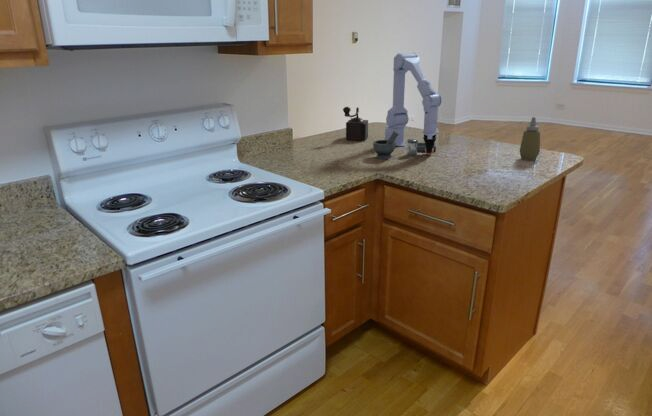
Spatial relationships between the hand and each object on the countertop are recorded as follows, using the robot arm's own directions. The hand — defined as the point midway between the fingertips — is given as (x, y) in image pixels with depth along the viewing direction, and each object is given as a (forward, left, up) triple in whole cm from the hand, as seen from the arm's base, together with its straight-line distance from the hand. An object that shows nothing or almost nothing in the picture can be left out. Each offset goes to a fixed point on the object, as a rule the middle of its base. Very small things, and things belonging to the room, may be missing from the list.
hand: (429, 151), depth 212 cm
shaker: (-8, -1, -1) cm, 8 cm away
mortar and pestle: (-19, -7, -2) cm, 20 cm away
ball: (0, 0, -1) cm, 1 cm away
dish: (-3, +10, -1) cm, 10 cm away
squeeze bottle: (+42, -3, -2) cm, 42 cm away
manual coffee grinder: (-38, +28, -2) cm, 47 cm away
